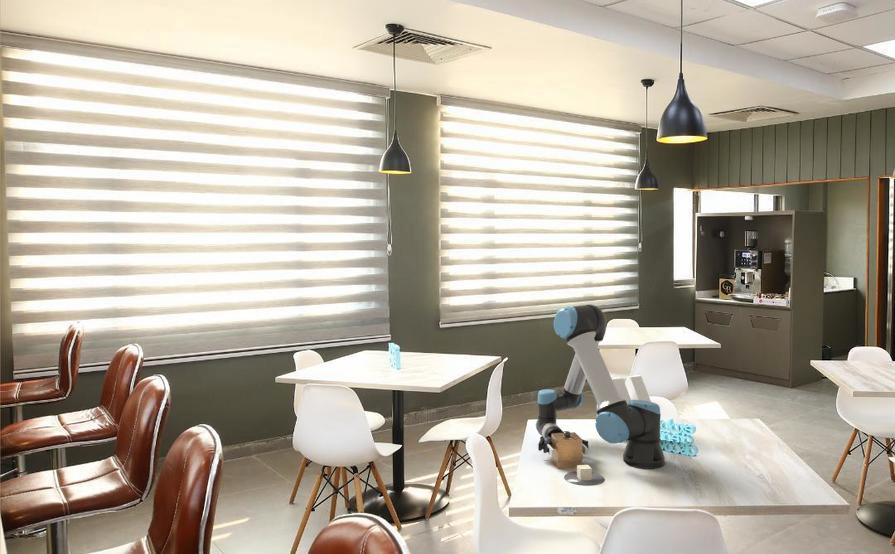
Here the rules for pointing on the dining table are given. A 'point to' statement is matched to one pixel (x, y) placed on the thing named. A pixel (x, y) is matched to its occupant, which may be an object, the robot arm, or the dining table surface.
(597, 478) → the plate
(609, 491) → the dining table surface
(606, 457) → the dining table surface
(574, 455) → the wooden cube with knob
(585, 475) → the cake cube
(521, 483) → the dining table surface
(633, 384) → the milk carton
